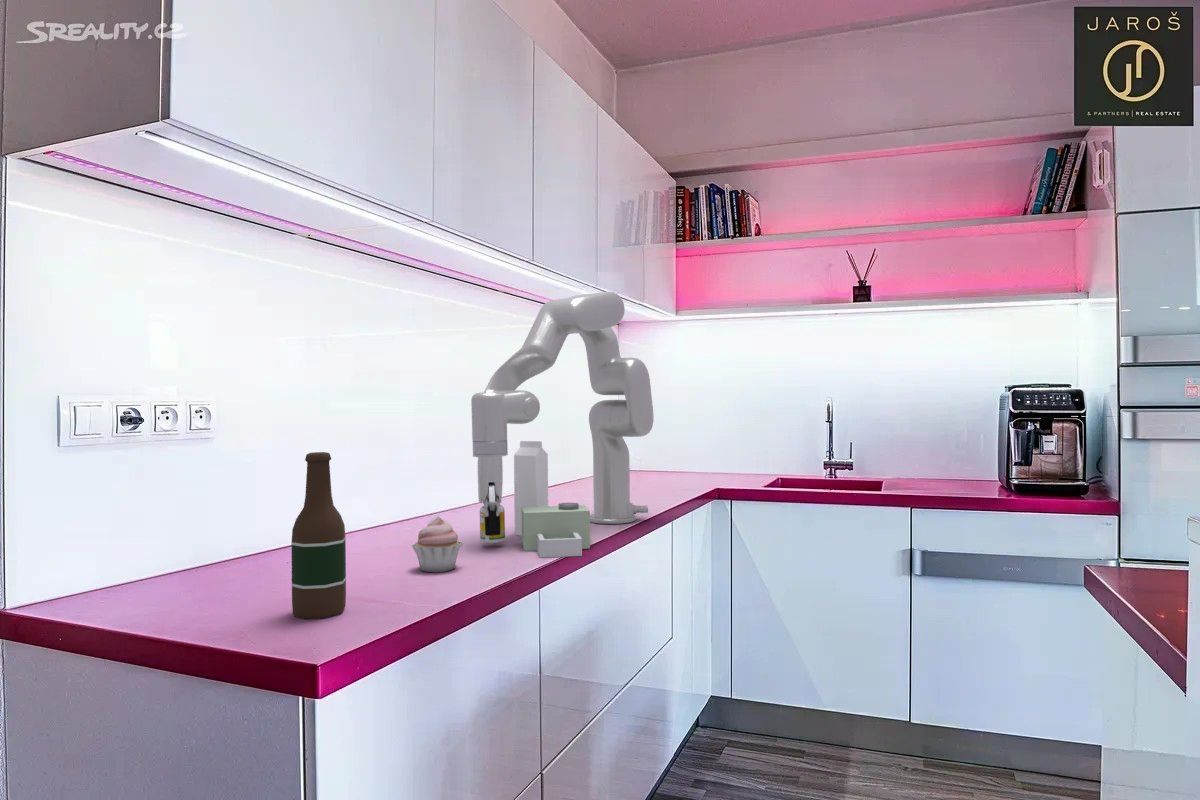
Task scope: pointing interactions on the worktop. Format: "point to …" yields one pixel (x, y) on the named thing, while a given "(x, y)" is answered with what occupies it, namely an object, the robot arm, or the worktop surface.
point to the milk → (529, 479)
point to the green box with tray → (556, 530)
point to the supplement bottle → (484, 537)
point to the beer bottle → (318, 547)
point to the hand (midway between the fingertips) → (492, 531)
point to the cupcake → (437, 546)
